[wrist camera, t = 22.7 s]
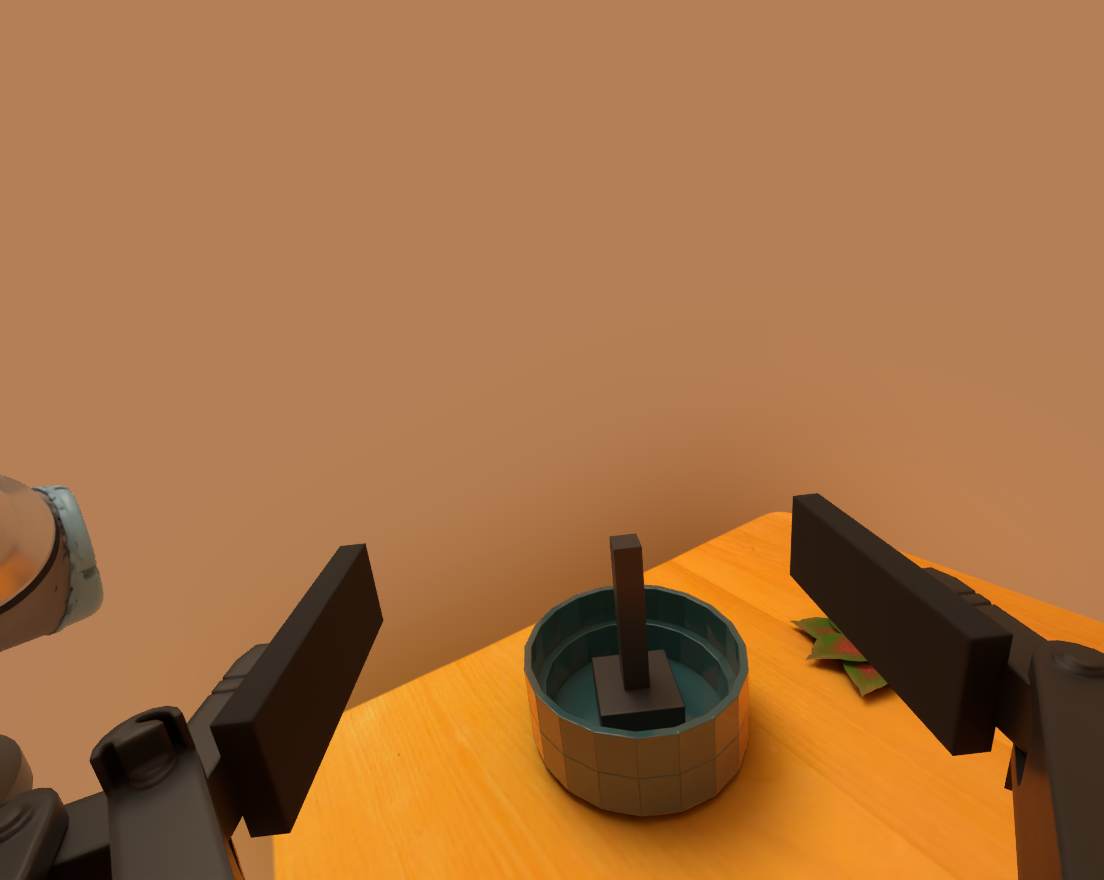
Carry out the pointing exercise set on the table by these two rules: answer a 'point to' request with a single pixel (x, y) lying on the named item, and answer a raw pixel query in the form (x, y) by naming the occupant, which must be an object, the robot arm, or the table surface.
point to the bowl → (652, 755)
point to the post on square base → (634, 656)
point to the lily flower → (841, 653)
